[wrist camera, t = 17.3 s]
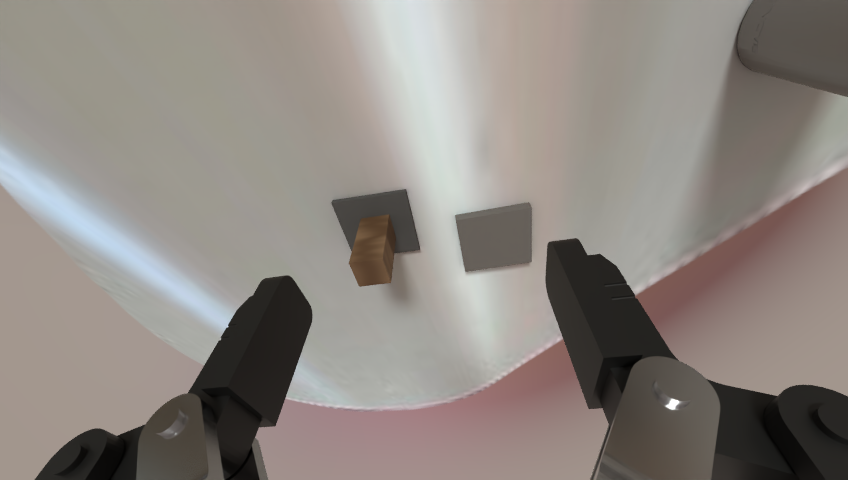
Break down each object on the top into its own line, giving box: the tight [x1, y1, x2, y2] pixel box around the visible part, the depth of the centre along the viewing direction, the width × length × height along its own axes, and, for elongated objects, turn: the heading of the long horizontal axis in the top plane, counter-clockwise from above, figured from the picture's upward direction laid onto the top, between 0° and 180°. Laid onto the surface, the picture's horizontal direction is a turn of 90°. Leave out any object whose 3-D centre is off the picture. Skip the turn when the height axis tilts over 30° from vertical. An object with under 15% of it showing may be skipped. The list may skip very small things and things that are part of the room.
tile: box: [455, 202, 532, 272], centre depth 42 cm, size 9×2×9 cm
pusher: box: [349, 215, 396, 287], centre depth 37 cm, size 4×4×8 cm
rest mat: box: [332, 189, 420, 253], centre depth 41 cm, size 9×9×1 cm
